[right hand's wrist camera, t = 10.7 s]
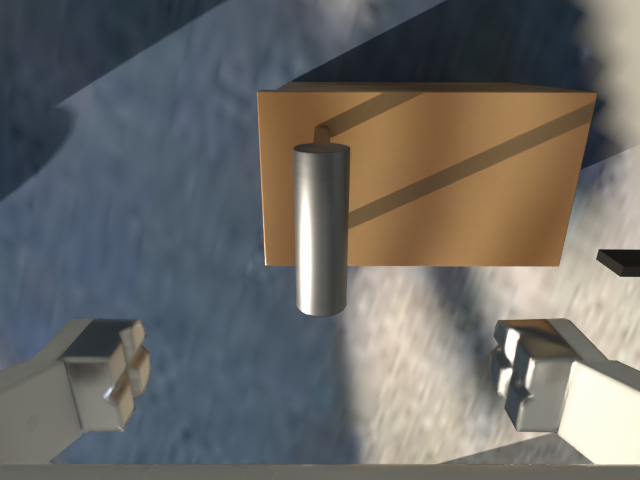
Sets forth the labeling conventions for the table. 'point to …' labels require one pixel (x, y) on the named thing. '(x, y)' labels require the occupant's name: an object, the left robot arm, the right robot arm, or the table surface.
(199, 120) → the table surface
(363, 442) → the table surface
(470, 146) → the lid
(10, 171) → the table surface
